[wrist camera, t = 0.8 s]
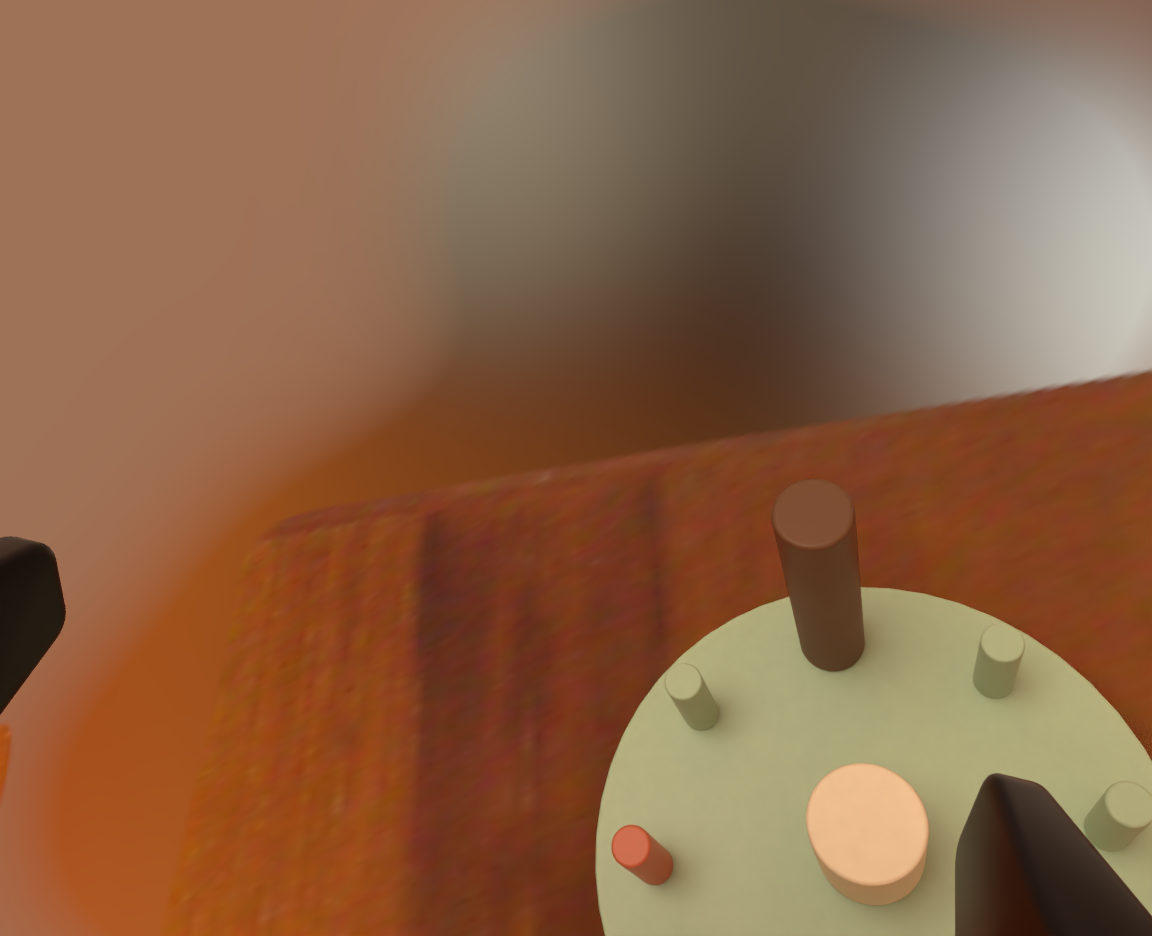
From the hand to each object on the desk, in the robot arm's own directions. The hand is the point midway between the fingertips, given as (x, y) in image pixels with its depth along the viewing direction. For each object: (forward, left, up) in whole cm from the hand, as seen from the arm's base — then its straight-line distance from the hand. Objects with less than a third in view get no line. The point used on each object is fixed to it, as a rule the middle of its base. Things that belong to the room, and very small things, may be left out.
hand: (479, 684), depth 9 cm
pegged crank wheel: (+1, -3, -17) cm, 17 cm away
